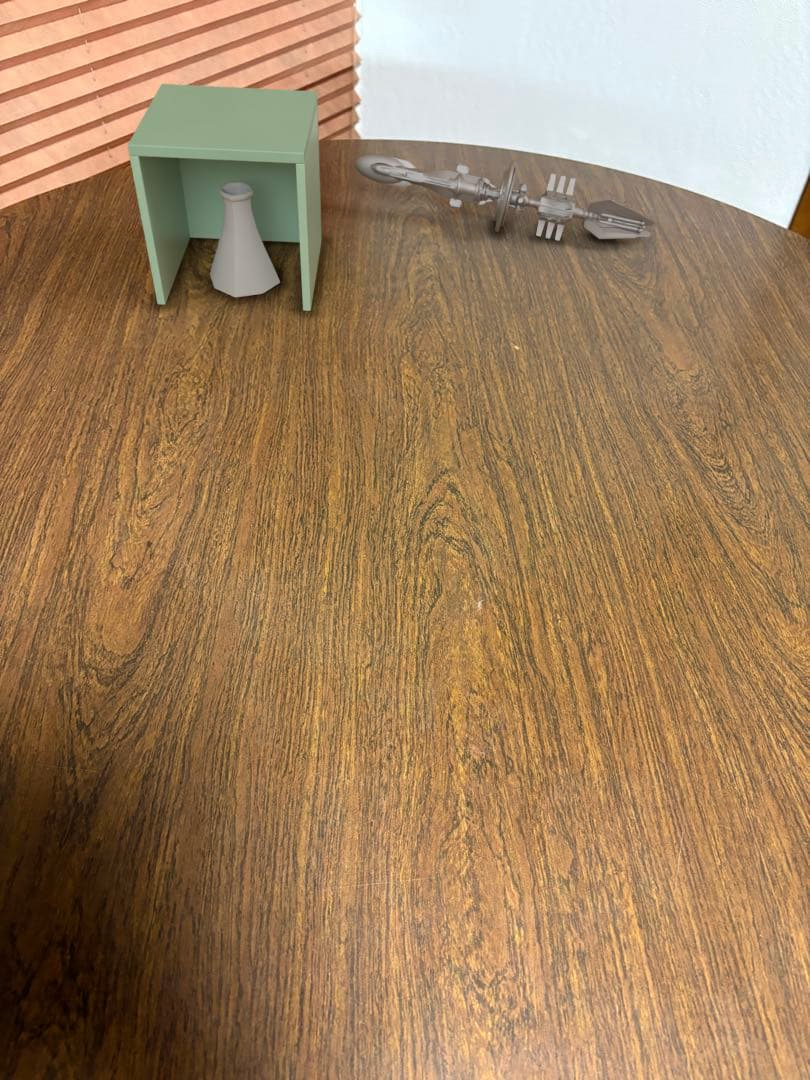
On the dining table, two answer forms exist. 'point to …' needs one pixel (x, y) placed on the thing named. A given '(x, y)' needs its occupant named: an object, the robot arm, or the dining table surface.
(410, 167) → the spaceship
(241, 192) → the flask
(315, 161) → the green open shelf box
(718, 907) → the dining table surface
